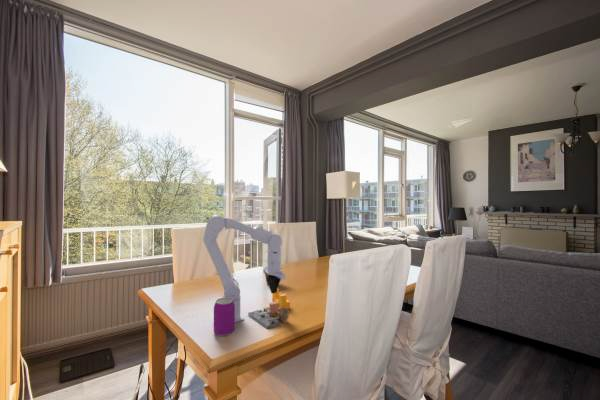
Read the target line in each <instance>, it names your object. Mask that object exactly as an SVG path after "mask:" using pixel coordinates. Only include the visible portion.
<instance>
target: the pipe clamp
mask: <svg viewBox="0 0 600 400" xmlns="http://www.w3.org/2000/svg"><path fill="white" fill-rule="evenodd" d="M271 295H272V303H273V302H279V309H280V308H284V307H287V308H289V309H291V301H290V300H288V299H287V294H286V293H283V294H280V290H279V288H278V289H277V292H276V293H271Z"/></svg>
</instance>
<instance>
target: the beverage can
mask: <svg viewBox="0 0 600 400" xmlns="http://www.w3.org/2000/svg"><path fill="white" fill-rule="evenodd" d="M235 323H236V322H235V305H234V302H233V299H231V298H223V297H221V298H218V299H216V300H215V303H214V306H213V333H214V334H215V335H216V336H219V337H226V336H229V335H231V334H232V333H233V332H234V331H235Z"/></svg>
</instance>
